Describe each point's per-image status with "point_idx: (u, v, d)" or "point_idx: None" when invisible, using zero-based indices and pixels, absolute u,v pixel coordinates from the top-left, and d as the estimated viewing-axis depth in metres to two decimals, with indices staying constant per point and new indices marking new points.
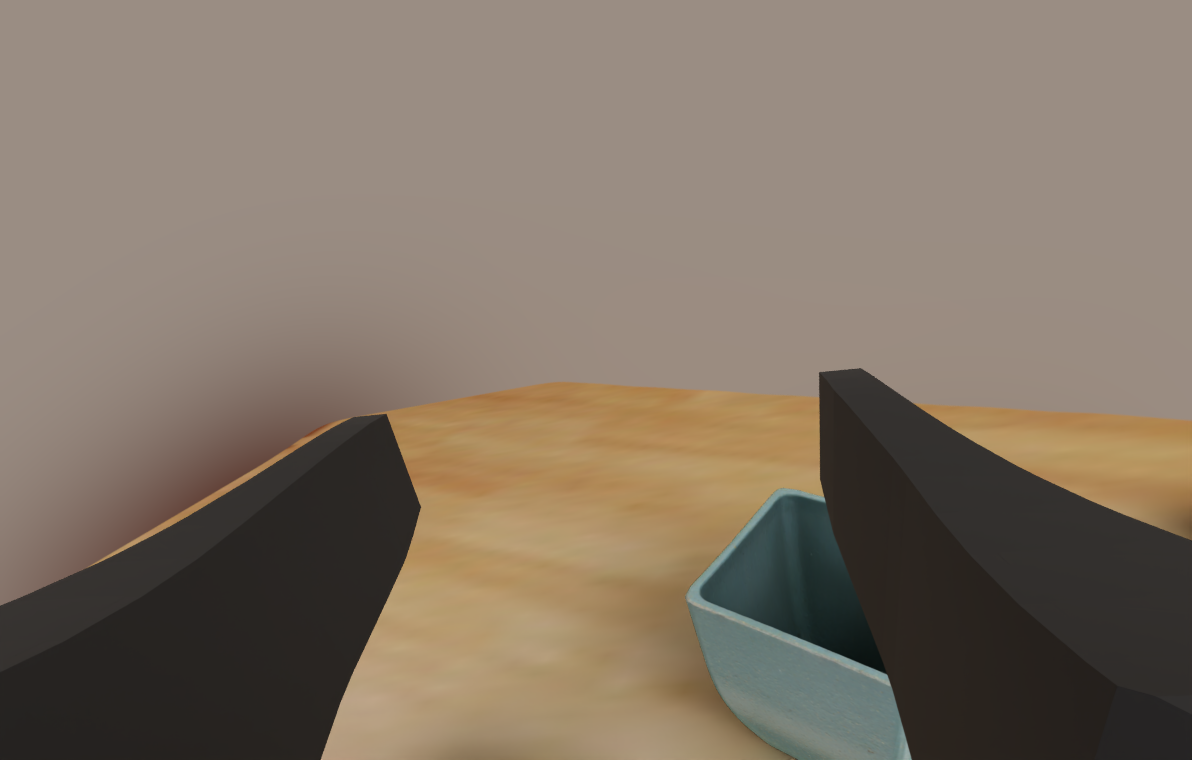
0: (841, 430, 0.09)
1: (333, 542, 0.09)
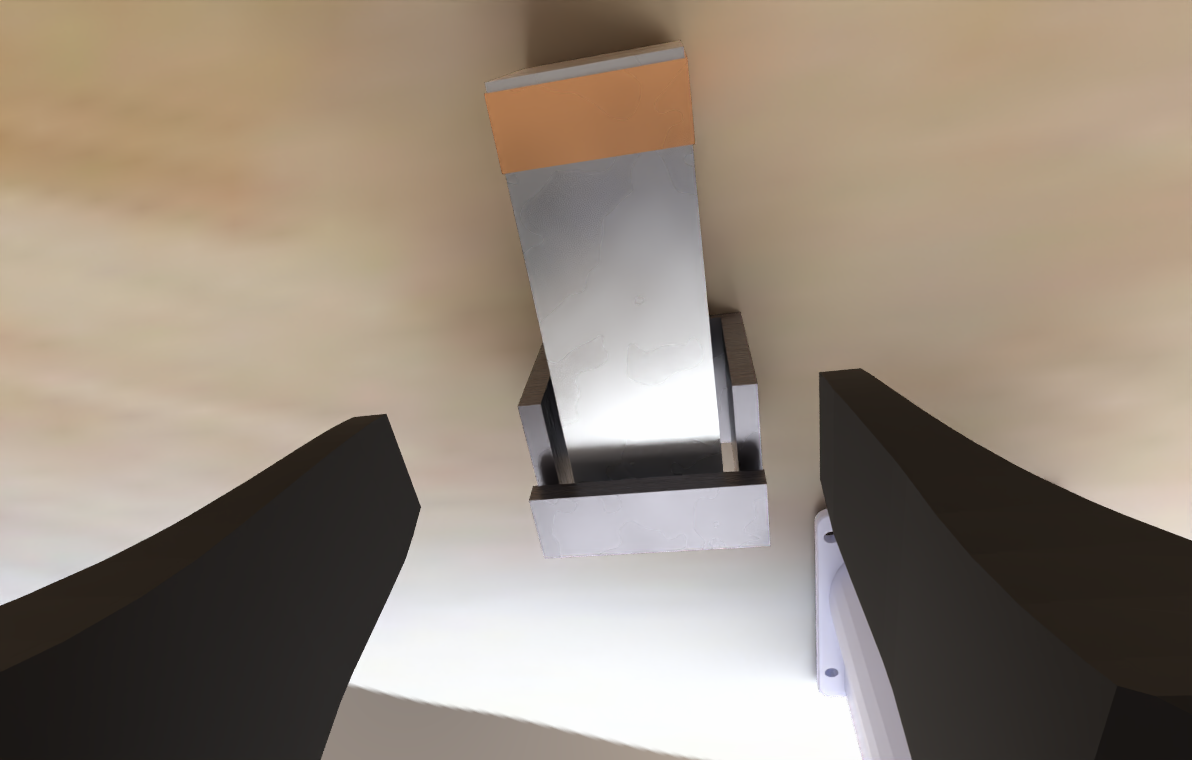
0: (841, 430, 0.09)
1: (333, 542, 0.09)
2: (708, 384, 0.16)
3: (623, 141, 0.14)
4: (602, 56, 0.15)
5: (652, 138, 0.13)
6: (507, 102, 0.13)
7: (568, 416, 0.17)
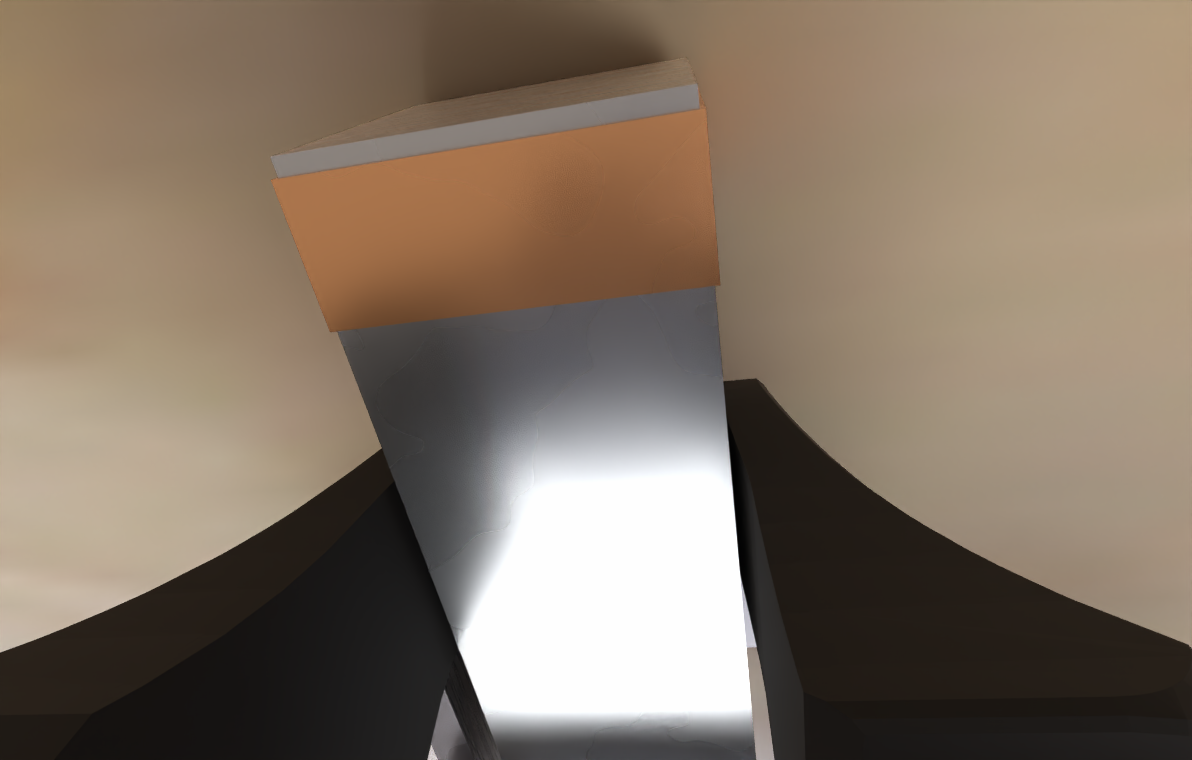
0: None
1: None
2: (735, 672, 0.09)
3: (569, 277, 0.06)
4: (540, 90, 0.08)
5: (631, 274, 0.06)
6: (321, 197, 0.06)
7: (493, 702, 0.10)
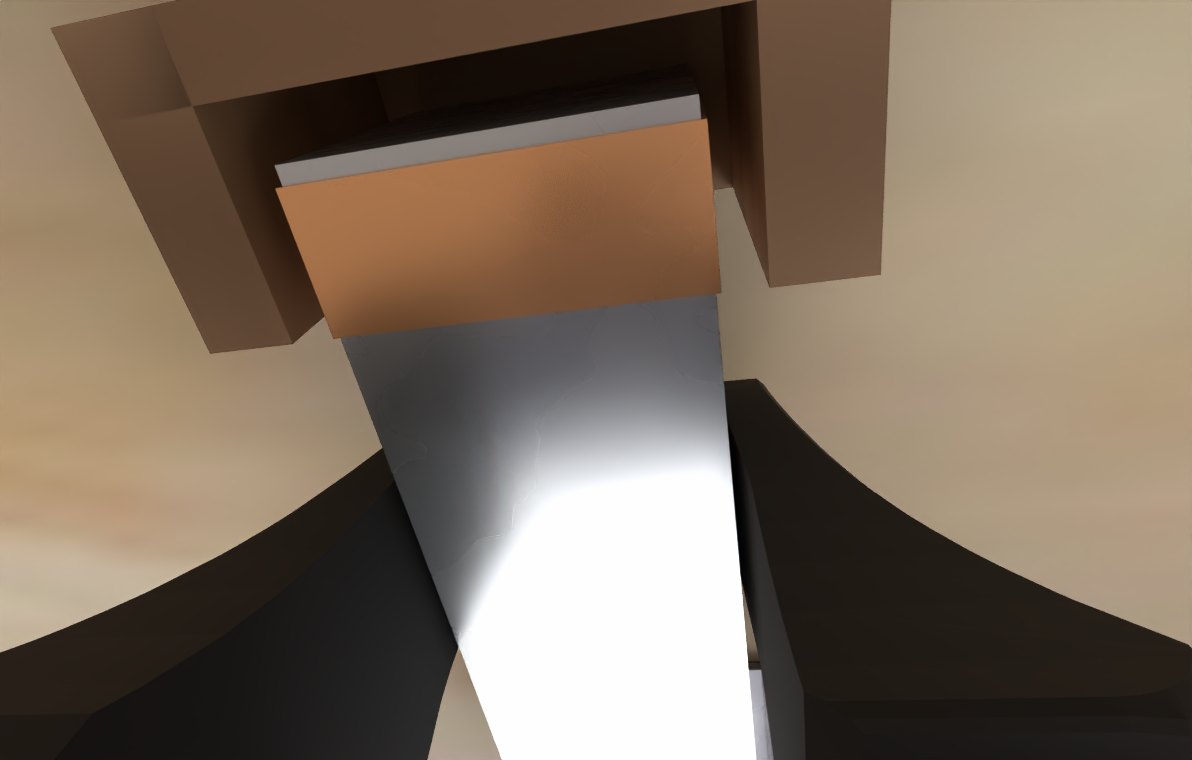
0: None
1: None
2: (736, 676, 0.09)
3: (571, 285, 0.06)
4: (542, 97, 0.08)
5: (633, 281, 0.06)
6: (325, 206, 0.06)
7: (495, 705, 0.10)
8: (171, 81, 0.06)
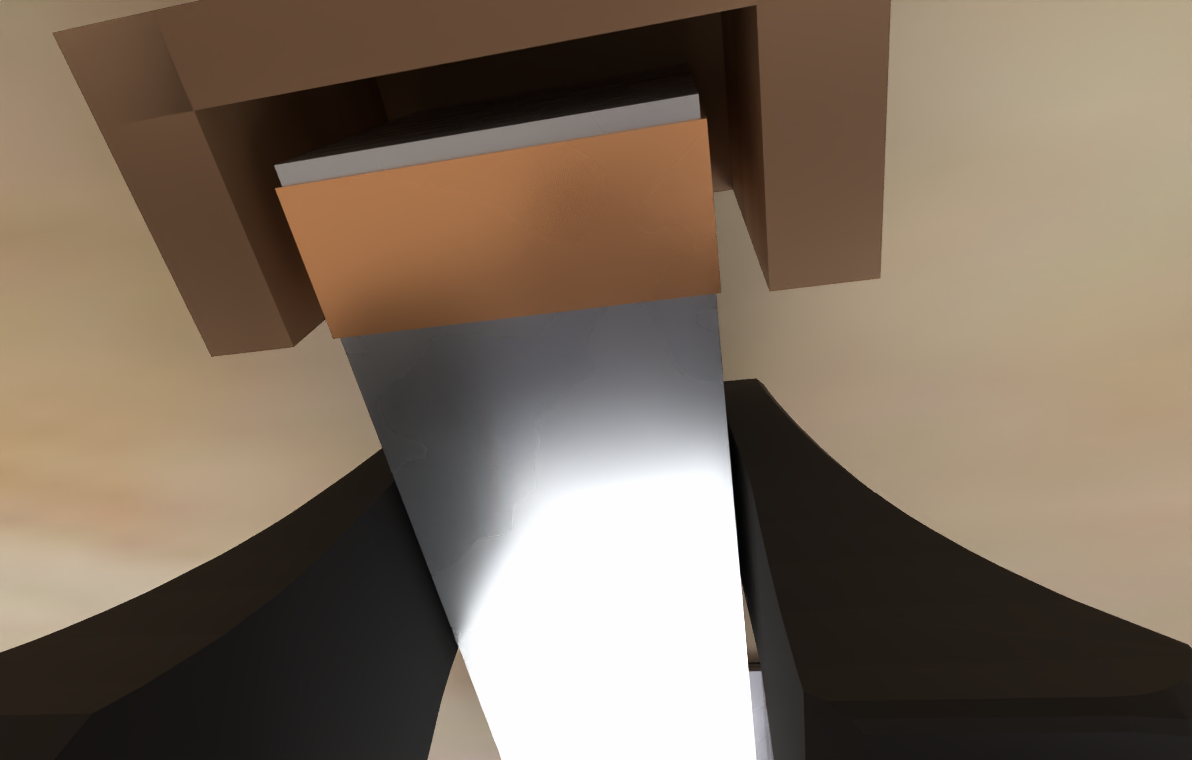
0: None
1: None
2: (736, 676, 0.09)
3: (571, 284, 0.06)
4: (541, 97, 0.08)
5: (633, 282, 0.06)
6: (325, 205, 0.06)
7: (495, 705, 0.10)
8: (171, 85, 0.06)
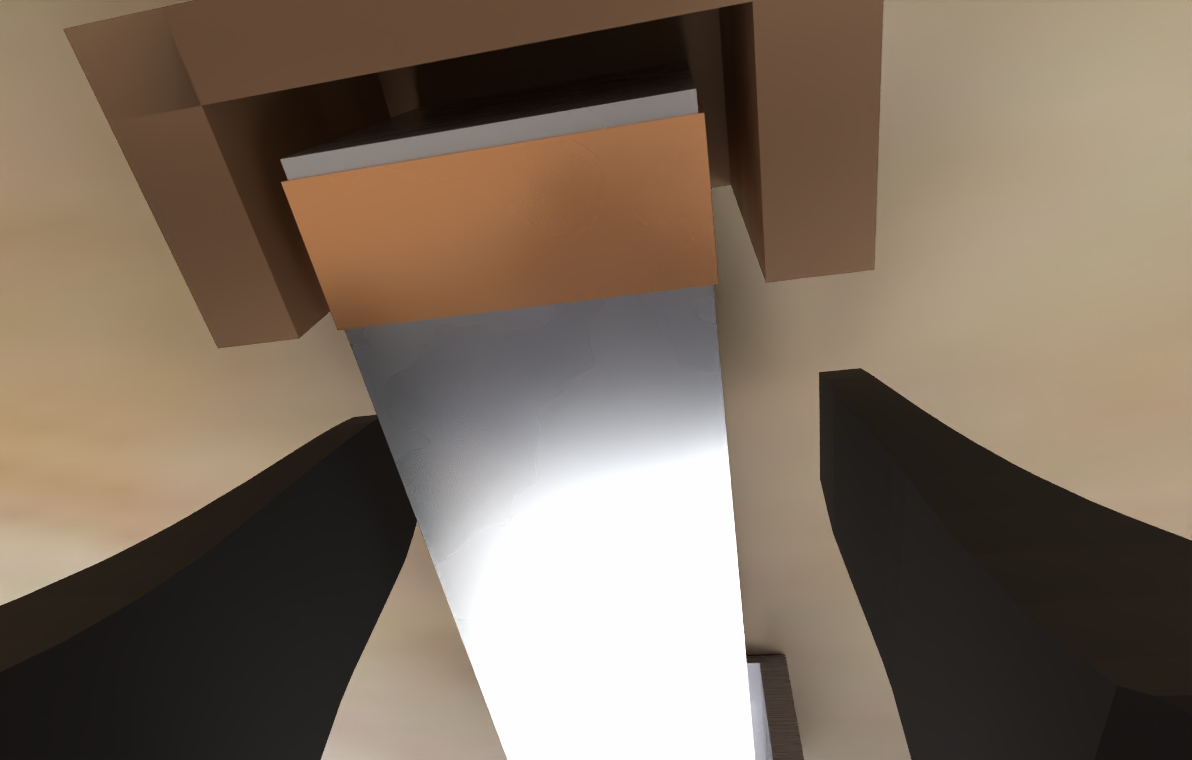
0: (841, 430, 0.09)
1: (333, 542, 0.09)
2: (733, 663, 0.09)
3: (571, 276, 0.07)
4: (542, 93, 0.08)
5: (632, 273, 0.07)
6: (330, 199, 0.06)
7: (496, 693, 0.10)
8: (180, 80, 0.06)
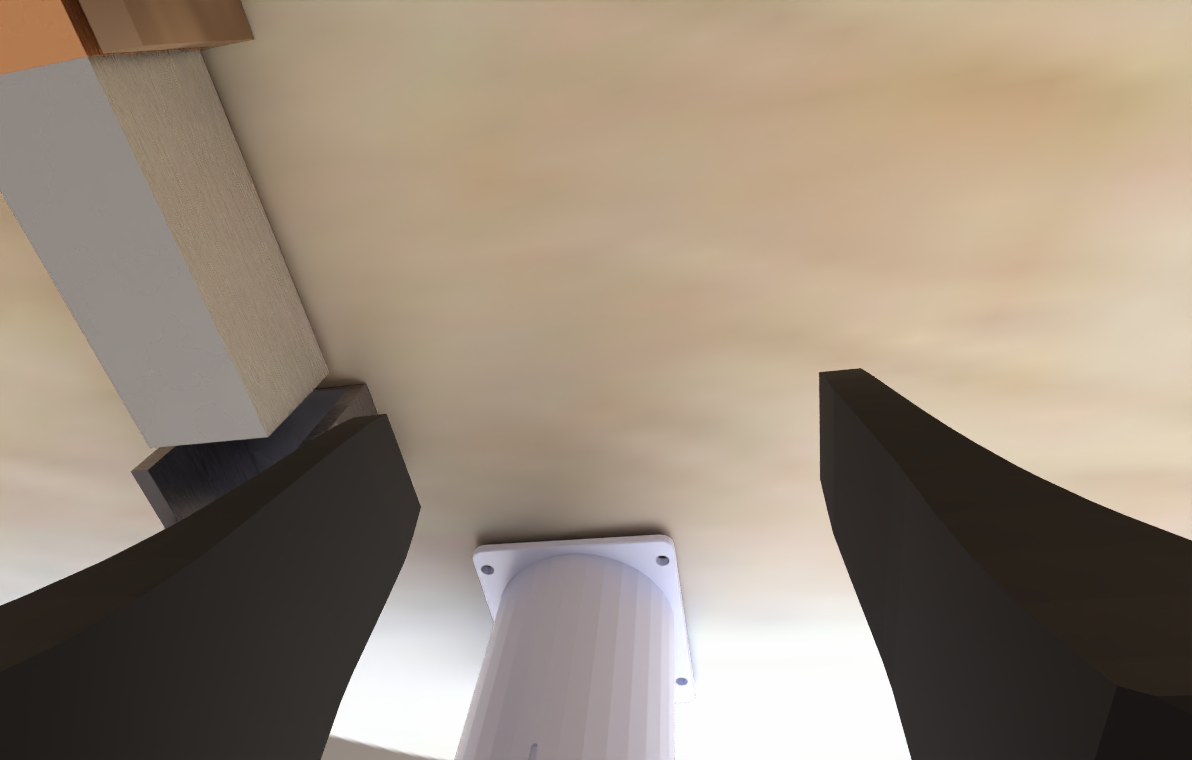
0: (841, 430, 0.09)
1: (333, 542, 0.09)
2: (194, 294, 0.17)
3: (26, 54, 0.15)
4: None
5: (49, 51, 0.15)
6: None
7: (87, 327, 0.18)
8: None
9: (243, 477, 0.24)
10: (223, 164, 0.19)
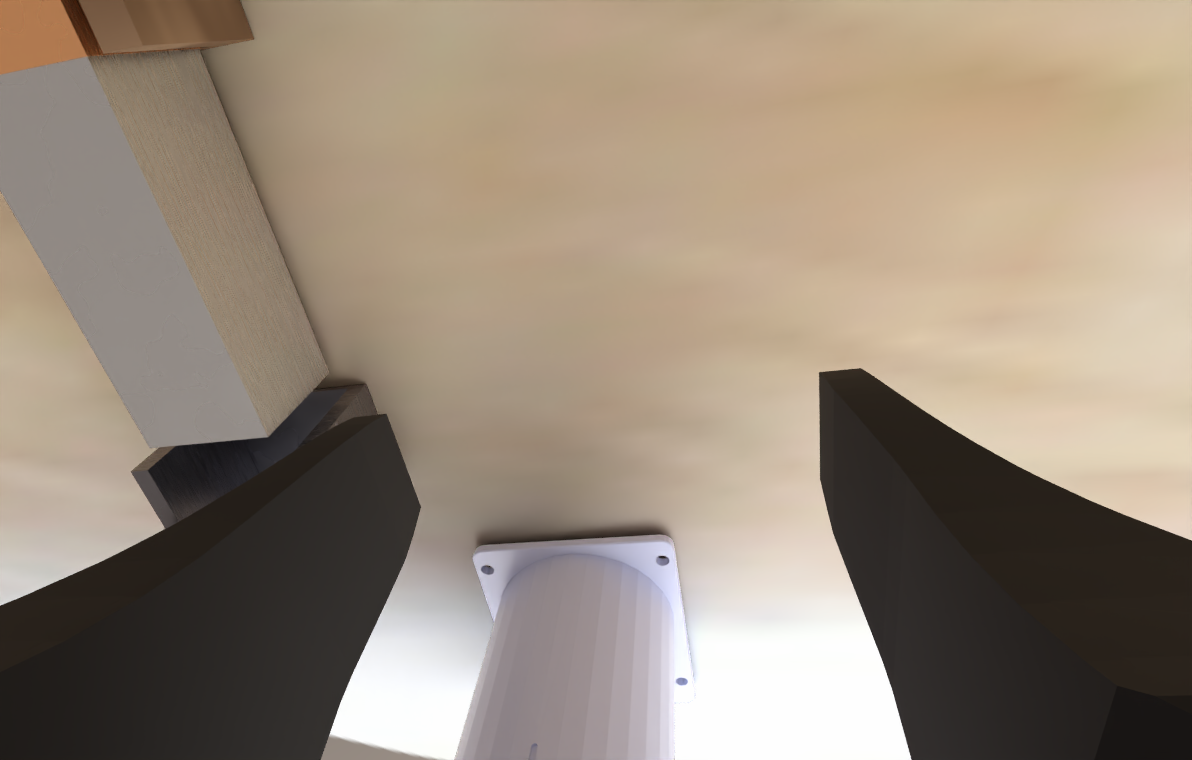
0: (841, 430, 0.09)
1: (333, 542, 0.09)
2: (193, 294, 0.17)
3: (26, 54, 0.15)
4: None
5: (49, 51, 0.15)
6: None
7: (87, 327, 0.18)
8: None
9: (243, 477, 0.24)
10: (223, 164, 0.19)
